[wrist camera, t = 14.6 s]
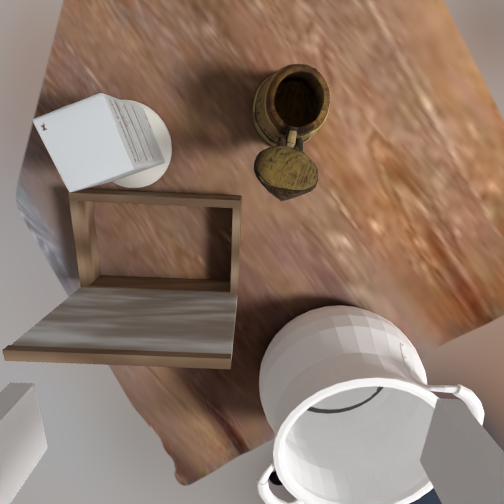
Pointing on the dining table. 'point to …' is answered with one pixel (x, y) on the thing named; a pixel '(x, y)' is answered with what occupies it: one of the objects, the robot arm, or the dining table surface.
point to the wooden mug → (289, 128)
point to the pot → (348, 410)
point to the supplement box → (98, 141)
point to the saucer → (164, 144)
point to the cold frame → (137, 303)
